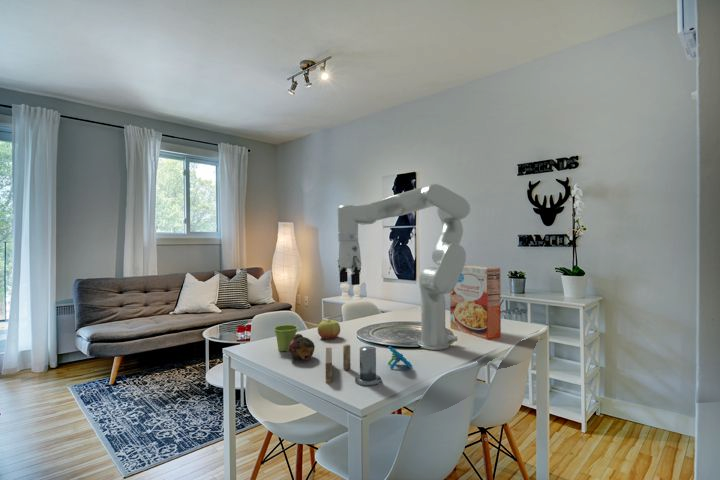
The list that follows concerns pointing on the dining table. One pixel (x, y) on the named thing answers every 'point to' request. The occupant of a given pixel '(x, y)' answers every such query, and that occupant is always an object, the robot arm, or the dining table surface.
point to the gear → (397, 358)
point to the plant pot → (285, 336)
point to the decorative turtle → (301, 347)
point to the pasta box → (477, 302)
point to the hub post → (367, 367)
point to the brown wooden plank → (328, 365)
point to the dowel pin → (346, 357)
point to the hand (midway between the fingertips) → (349, 283)
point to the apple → (329, 329)
